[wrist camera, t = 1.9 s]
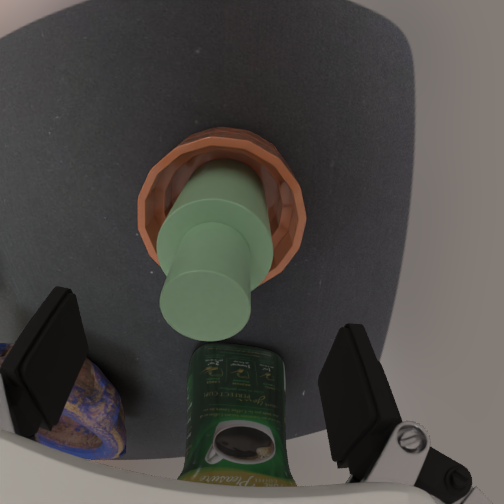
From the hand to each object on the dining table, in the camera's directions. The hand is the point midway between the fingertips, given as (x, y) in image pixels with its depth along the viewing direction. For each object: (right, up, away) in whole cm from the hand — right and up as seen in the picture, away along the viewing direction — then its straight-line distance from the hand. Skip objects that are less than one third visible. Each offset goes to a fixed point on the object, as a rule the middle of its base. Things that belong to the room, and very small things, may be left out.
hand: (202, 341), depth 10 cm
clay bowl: (0, +7, +12) cm, 14 cm away
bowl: (-21, -11, +22) cm, 32 cm away
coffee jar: (0, -9, +21) cm, 23 cm away
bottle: (0, +7, +12) cm, 13 cm away
